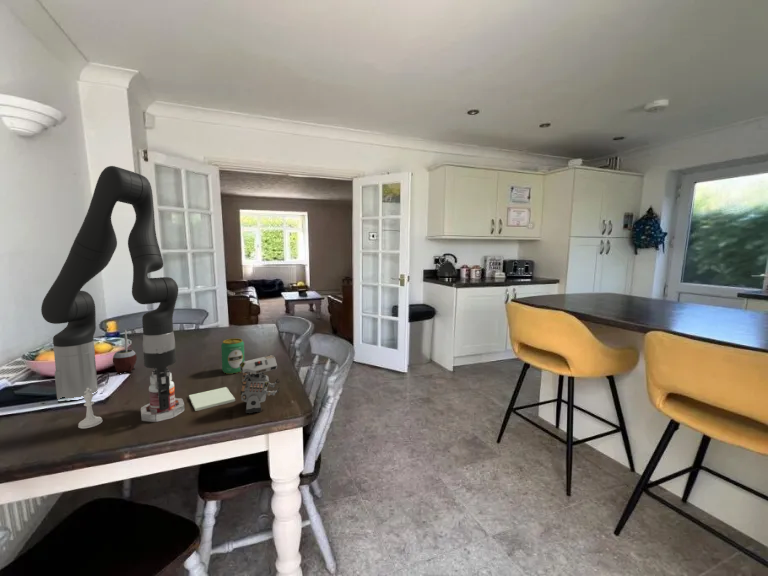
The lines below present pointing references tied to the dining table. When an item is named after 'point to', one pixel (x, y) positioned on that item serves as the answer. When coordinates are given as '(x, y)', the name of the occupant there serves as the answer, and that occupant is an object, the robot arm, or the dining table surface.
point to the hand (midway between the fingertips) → (163, 404)
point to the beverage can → (232, 355)
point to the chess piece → (89, 412)
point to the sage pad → (211, 398)
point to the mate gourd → (124, 359)
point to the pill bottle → (155, 400)
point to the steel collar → (164, 415)
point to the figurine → (257, 382)
